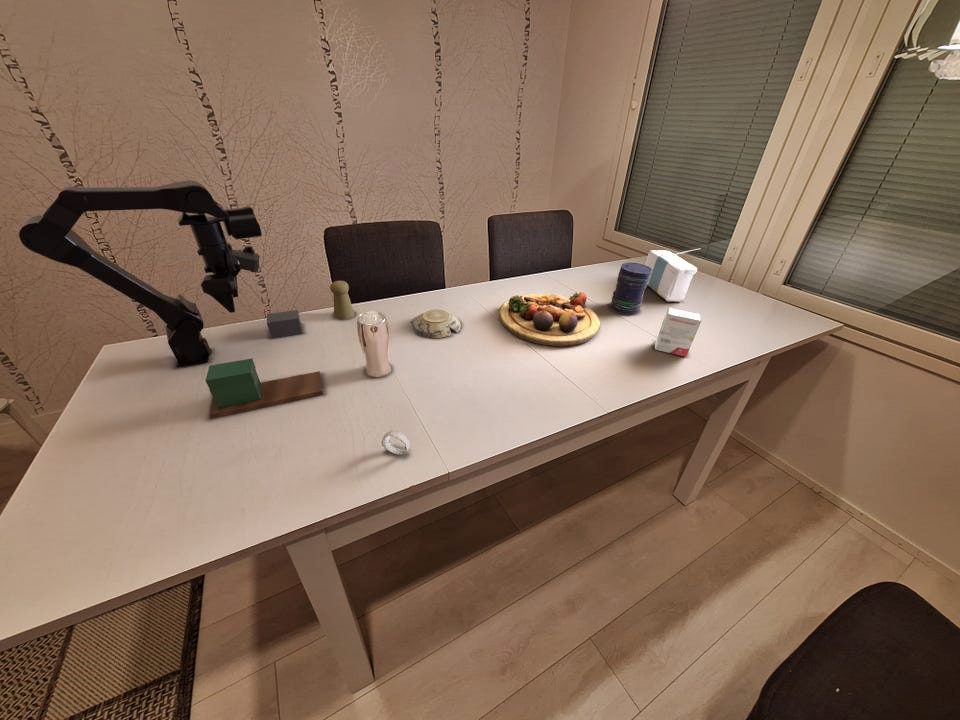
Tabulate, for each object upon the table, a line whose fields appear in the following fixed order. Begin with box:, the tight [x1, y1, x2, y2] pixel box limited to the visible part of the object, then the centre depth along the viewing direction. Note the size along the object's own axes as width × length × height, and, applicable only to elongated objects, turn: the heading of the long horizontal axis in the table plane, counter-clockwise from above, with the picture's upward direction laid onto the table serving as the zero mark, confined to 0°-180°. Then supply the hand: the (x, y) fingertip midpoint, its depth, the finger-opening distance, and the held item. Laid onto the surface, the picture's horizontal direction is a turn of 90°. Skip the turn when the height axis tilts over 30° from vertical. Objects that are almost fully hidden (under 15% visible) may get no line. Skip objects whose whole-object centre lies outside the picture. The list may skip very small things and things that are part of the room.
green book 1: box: [208, 368, 259, 400], centre depth 79 cm, size 8×6×2 cm
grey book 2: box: [268, 319, 304, 339], centre depth 106 cm, size 8×6×2 cm
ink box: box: [654, 307, 702, 357], centre depth 105 cm, size 9×5×12 cm, turn 65°
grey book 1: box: [266, 309, 301, 332], centre depth 104 cm, size 8×6×2 cm
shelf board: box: [208, 370, 324, 419], centre depth 83 cm, size 22×8×1 cm, turn 114°
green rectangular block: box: [205, 357, 257, 390], centre depth 78 cm, size 8×6×2 cm
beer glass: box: [356, 310, 392, 378], centre depth 89 cm, size 7×7×15 cm
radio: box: [644, 247, 702, 303], centre depth 138 cm, size 21×8×20 cm, turn 6°
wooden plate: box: [498, 291, 601, 347], centre depth 117 cm, size 32×32×8 cm
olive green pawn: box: [329, 280, 355, 321], centre depth 113 cm, size 6×6×11 cm
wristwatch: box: [381, 430, 411, 456], centre depth 70 cm, size 3×5×5 cm, turn 73°
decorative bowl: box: [412, 308, 461, 339], centre depth 112 cm, size 15×4×15 cm
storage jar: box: [609, 262, 652, 316], centre depth 126 cm, size 10×10×15 cm
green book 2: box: [214, 376, 262, 409], centre depth 80 cm, size 8×6×2 cm
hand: (234, 304), depth 93 cm, fingers open, 9 cm apart
